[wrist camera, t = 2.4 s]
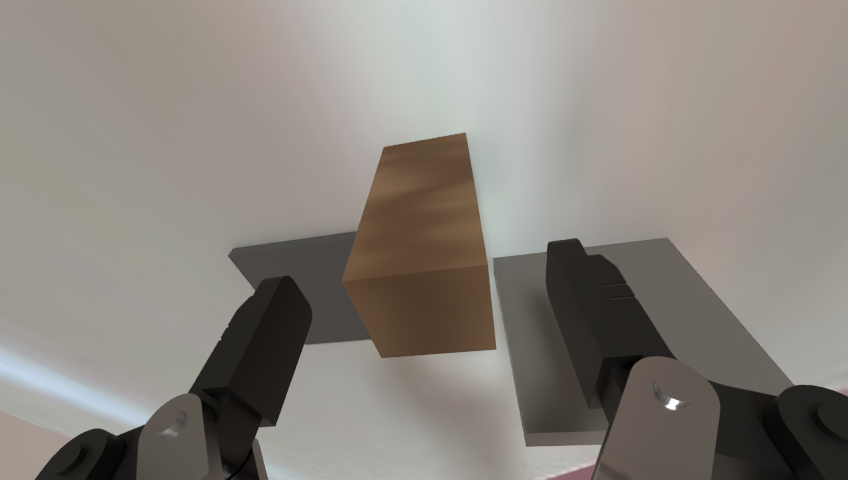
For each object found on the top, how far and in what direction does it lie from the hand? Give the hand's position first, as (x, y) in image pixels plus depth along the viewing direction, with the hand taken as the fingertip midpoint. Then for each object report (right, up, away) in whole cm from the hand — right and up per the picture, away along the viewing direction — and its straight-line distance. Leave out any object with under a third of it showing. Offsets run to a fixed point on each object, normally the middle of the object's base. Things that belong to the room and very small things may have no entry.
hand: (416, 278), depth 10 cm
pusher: (+1, +4, +5) cm, 6 cm away
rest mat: (-5, -2, +10) cm, 12 cm away
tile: (+9, 0, +8) cm, 12 cm away
